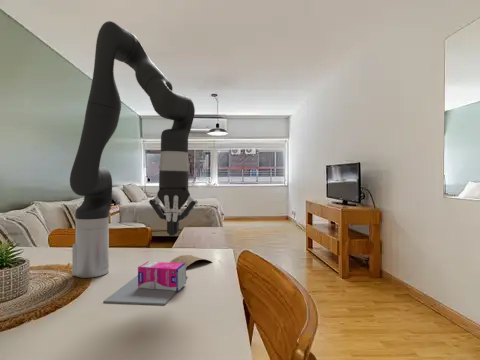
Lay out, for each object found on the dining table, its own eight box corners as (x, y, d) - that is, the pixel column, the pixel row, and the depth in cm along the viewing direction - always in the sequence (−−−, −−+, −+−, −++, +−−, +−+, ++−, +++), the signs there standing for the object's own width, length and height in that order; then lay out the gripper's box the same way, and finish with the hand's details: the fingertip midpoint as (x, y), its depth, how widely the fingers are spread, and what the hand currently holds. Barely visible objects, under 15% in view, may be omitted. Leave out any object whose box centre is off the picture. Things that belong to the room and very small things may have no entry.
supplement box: (178, 291, 80) (137, 288, 82) (186, 283, 85) (148, 281, 88) (177, 269, 80) (136, 266, 82) (186, 262, 85) (147, 260, 88)
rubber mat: (103, 302, 74) (103, 300, 74) (138, 276, 94) (138, 274, 94) (165, 305, 72) (165, 303, 72) (187, 277, 92) (187, 276, 92)
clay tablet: (182, 272, 99) (183, 264, 99) (163, 266, 105) (163, 258, 105) (215, 263, 110) (215, 255, 110) (195, 258, 116) (195, 251, 116)
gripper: (202, 170, 85) (200, 233, 85) (155, 169, 86) (153, 232, 86) (195, 169, 77) (194, 239, 78) (144, 168, 79) (142, 237, 79)
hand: (172, 235), depth 82 cm, fingers closed
